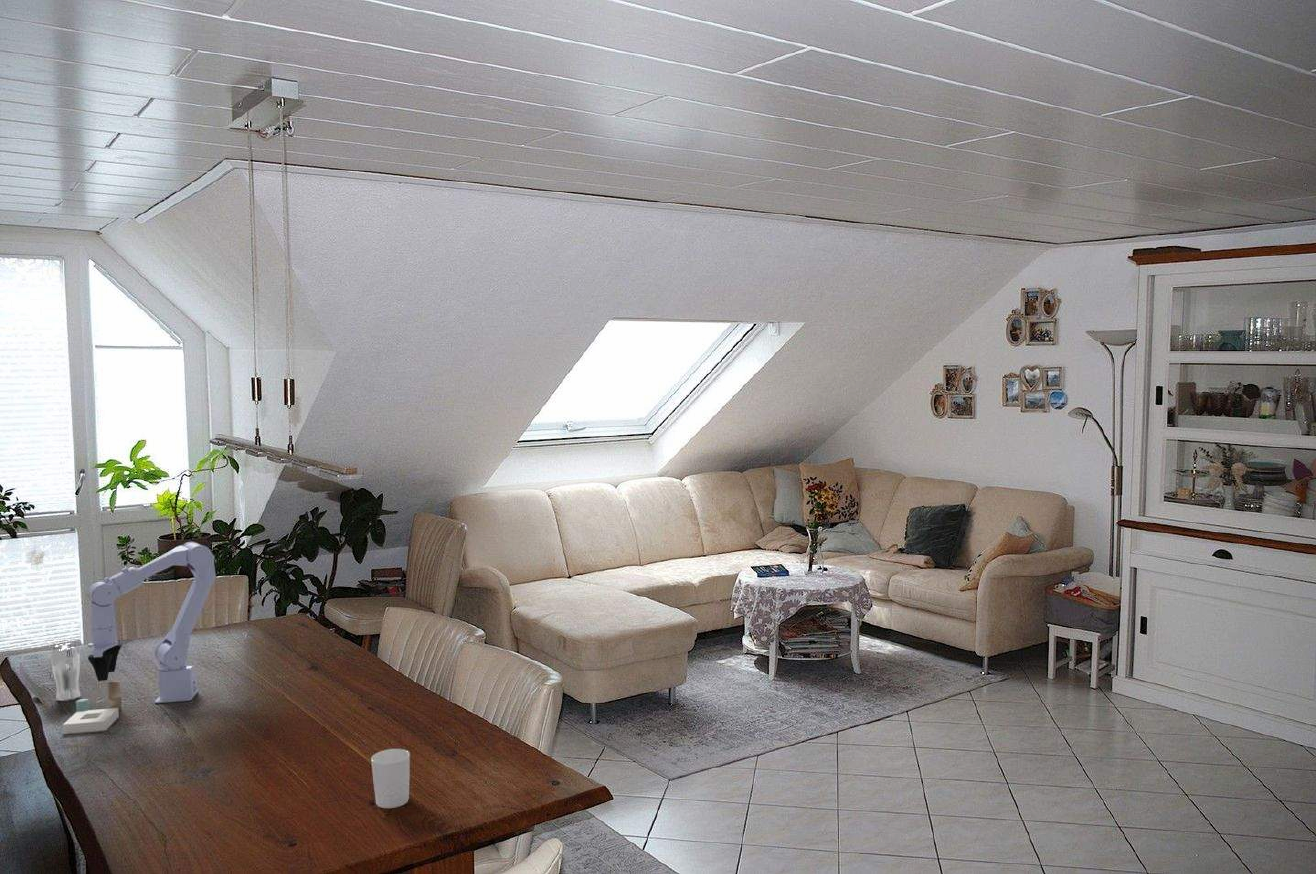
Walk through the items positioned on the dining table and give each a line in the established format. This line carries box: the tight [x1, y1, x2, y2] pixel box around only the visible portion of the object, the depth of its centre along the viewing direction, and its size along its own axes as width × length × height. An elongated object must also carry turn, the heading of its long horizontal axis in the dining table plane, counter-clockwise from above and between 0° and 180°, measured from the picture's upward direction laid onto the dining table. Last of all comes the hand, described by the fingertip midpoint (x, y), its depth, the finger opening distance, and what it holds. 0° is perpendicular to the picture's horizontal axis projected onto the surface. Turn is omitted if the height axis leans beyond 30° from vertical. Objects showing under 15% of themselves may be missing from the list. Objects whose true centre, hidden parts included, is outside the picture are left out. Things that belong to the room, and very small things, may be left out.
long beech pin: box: [107, 680, 123, 713], centre depth 271 cm, size 3×3×8 cm
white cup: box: [370, 748, 411, 809], centre depth 211 cm, size 8×8×10 cm
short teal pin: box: [75, 698, 90, 712], centre depth 267 cm, size 3×3×4 cm
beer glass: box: [50, 642, 82, 702], centre depth 282 cm, size 7×7×15 cm
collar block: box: [62, 708, 120, 735], centre depth 260 cm, size 10×10×2 cm
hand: (106, 676), depth 269 cm, fingers open, 7 cm apart
